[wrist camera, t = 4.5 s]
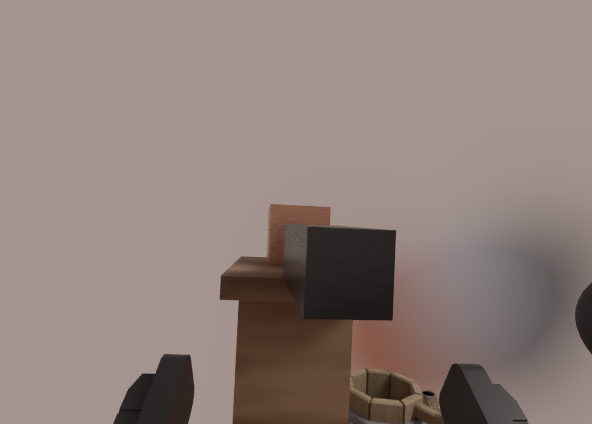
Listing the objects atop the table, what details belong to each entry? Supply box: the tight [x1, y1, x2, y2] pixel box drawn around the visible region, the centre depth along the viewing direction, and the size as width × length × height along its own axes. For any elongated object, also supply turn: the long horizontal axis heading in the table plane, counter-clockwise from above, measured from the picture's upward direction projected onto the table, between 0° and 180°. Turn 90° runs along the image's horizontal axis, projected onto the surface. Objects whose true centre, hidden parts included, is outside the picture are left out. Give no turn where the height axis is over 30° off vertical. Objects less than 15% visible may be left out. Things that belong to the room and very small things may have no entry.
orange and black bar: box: [267, 204, 396, 320], centre depth 24 cm, size 22×5×5 cm, turn 6°
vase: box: [421, 390, 441, 412], centre depth 57 cm, size 7×7×9 cm
